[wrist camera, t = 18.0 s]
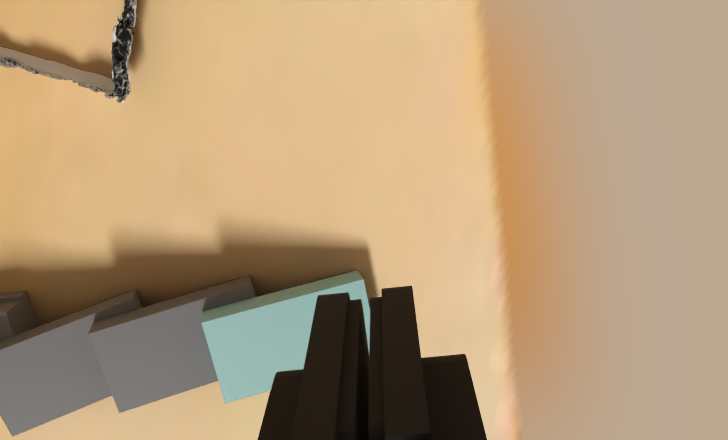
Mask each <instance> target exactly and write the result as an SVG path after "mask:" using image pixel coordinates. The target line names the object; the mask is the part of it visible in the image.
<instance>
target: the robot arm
mask: <svg viewBox="0 0 728 440" xmlns="http://www.w3.org/2000/svg"><path fill="white" fill-rule="evenodd" d="M258 440H487V438H486V434H485V430H484V426H483V422H482V418H481V414H480V410H479V406H478V402H477V398H476V394H475V390H474V386H473V382H472V378H471V374H470V370H469V366H468V362H467V358H466V355H465V354H459V355H448V356H438V357H427V358H421V354H420V346H419V338H418V330H417V322H416V314H415V306H414V298H413V290H412V286H405V287H395V288H385V289H382V297H377V298H370V352H369V350H368V342H367V335H366V328H365V320H364V313H363V306H362V300H361V299H357V300H350V295H349V292H346V293H336V294H326V295H318V297H317V301H316V306H315V311H314V317H313V322H312V327H311V332H310V337H309V343H308V348H307V353H306V358H305V364H304V369H300V370H289V371H279V372H277V373H276V374H275V377H274V380H273V384H272V388H271V391H270V395H269V399H268V403H267V406H266V410H265V414H264V418H263V422H262V425H261V429H260V433H259V437H258Z"/></svg>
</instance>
